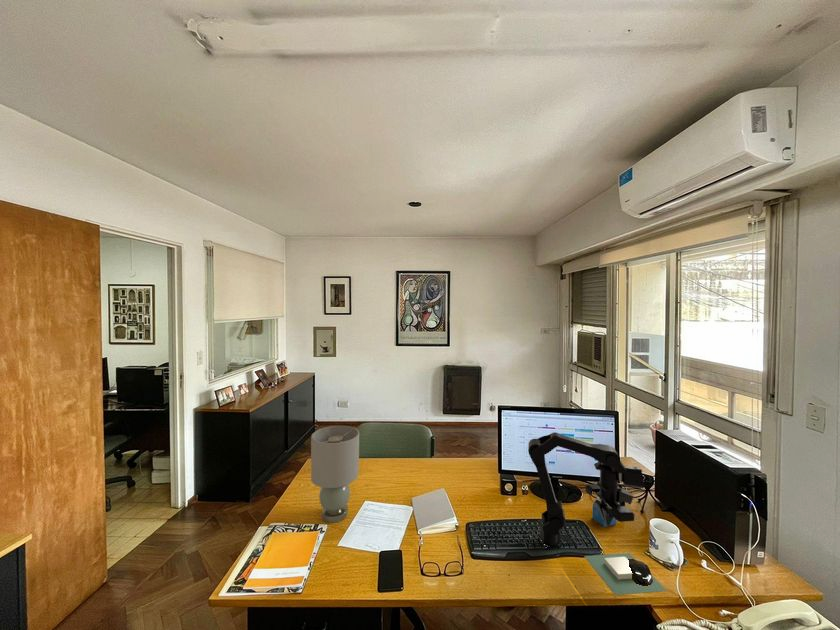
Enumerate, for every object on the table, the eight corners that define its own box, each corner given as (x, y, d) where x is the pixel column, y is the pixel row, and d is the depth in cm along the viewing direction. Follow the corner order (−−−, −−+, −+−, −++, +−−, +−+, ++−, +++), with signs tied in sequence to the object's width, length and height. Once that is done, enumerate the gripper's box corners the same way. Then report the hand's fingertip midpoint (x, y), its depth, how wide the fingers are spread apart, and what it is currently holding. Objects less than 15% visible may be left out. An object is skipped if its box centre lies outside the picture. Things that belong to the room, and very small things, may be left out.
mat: (615, 596, 101) (615, 595, 101) (583, 557, 117) (583, 556, 117) (667, 591, 103) (667, 590, 103) (629, 554, 119) (629, 552, 119)
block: (603, 563, 114) (618, 580, 107) (604, 558, 114) (618, 574, 107) (624, 562, 114) (640, 578, 107) (624, 556, 114) (640, 572, 107)
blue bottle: (604, 527, 133) (604, 499, 133) (592, 518, 139) (593, 490, 139) (616, 525, 135) (616, 497, 135) (604, 516, 141) (604, 489, 141)
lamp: (346, 534, 127) (347, 445, 126) (300, 526, 131) (301, 440, 130) (365, 504, 147) (366, 427, 146) (324, 498, 151) (325, 423, 150)
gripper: (649, 496, 109) (648, 541, 109) (611, 468, 127) (610, 507, 127) (619, 497, 107) (618, 543, 108) (585, 469, 126) (584, 509, 126)
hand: (607, 524), depth 117 cm, fingers closed
